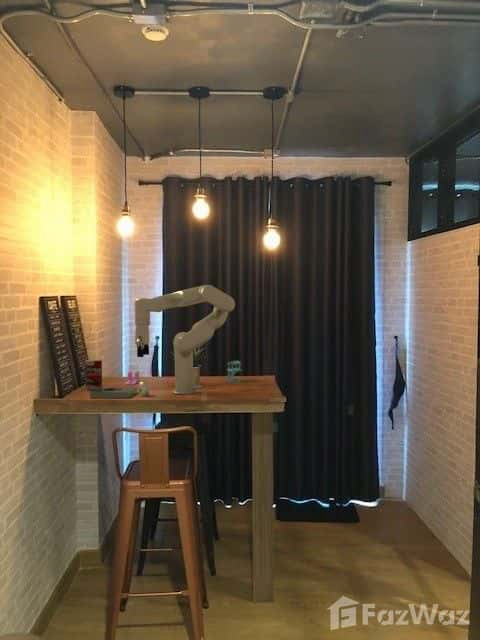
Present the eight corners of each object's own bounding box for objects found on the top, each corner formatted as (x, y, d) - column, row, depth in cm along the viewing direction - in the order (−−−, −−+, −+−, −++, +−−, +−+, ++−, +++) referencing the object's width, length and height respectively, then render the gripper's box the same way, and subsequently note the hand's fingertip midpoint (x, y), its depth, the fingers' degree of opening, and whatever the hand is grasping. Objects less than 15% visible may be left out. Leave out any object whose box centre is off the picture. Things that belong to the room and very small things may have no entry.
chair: (225, 380, 304) (224, 360, 303) (238, 379, 307) (237, 359, 307) (230, 382, 297) (230, 362, 296) (243, 381, 300) (243, 361, 300)
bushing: (150, 394, 265) (150, 381, 265) (147, 396, 260) (147, 382, 260) (141, 394, 266) (140, 381, 265) (138, 396, 261) (137, 382, 260)
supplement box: (86, 390, 280) (85, 361, 279) (86, 388, 284) (85, 360, 283) (102, 389, 282) (101, 360, 281) (102, 387, 287) (101, 359, 286)
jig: (136, 392, 271) (136, 387, 270) (128, 398, 257) (128, 392, 257) (100, 392, 272) (99, 386, 272) (90, 398, 259) (89, 392, 258)
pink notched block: (129, 382, 304) (129, 370, 304) (139, 382, 304) (138, 370, 303) (123, 386, 291) (123, 373, 291) (133, 386, 291) (133, 373, 291)
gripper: (140, 321, 270) (141, 353, 271) (130, 323, 253) (130, 358, 254) (154, 321, 269) (155, 353, 270) (144, 323, 252) (145, 358, 253)
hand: (143, 355), depth 262 cm, fingers open, 9 cm apart
